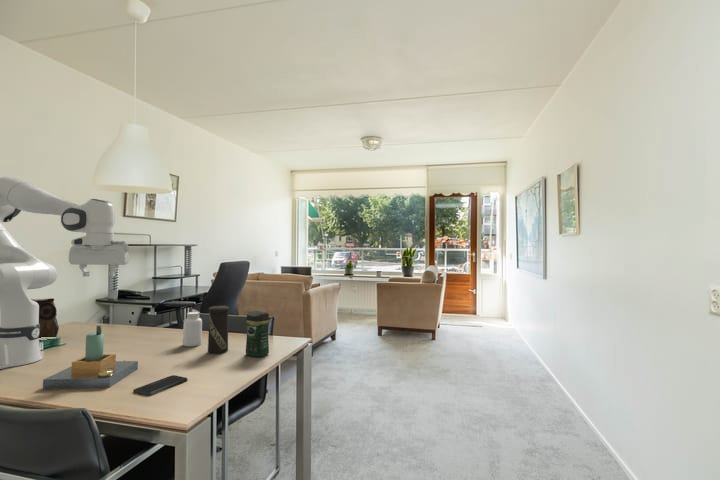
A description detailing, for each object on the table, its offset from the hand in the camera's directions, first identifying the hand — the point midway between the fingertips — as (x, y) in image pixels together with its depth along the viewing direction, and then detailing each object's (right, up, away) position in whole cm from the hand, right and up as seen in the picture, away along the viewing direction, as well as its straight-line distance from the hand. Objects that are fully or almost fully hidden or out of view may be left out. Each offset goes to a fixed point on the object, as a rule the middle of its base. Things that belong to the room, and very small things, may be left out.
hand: (99, 276), depth 140 cm
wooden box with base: (+9, -34, -15) cm, 38 cm away
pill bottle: (+22, -35, +30) cm, 51 cm away
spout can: (+9, -31, -15) cm, 35 cm away
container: (+39, -35, +19) cm, 56 cm away
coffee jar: (+57, -36, +15) cm, 69 cm away
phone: (+36, -35, -21) cm, 54 cm away
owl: (-55, -35, +39) cm, 76 cm away
